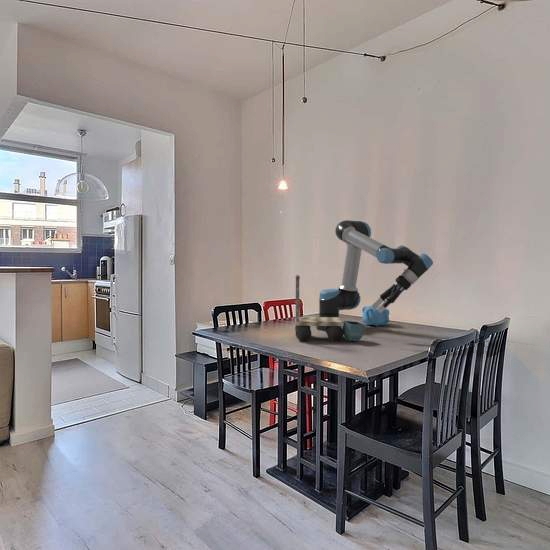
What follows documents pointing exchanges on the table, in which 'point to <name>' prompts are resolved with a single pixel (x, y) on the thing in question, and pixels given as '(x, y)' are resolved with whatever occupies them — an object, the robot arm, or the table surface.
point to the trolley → (316, 323)
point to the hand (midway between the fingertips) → (375, 309)
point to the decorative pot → (375, 316)
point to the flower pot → (353, 330)
